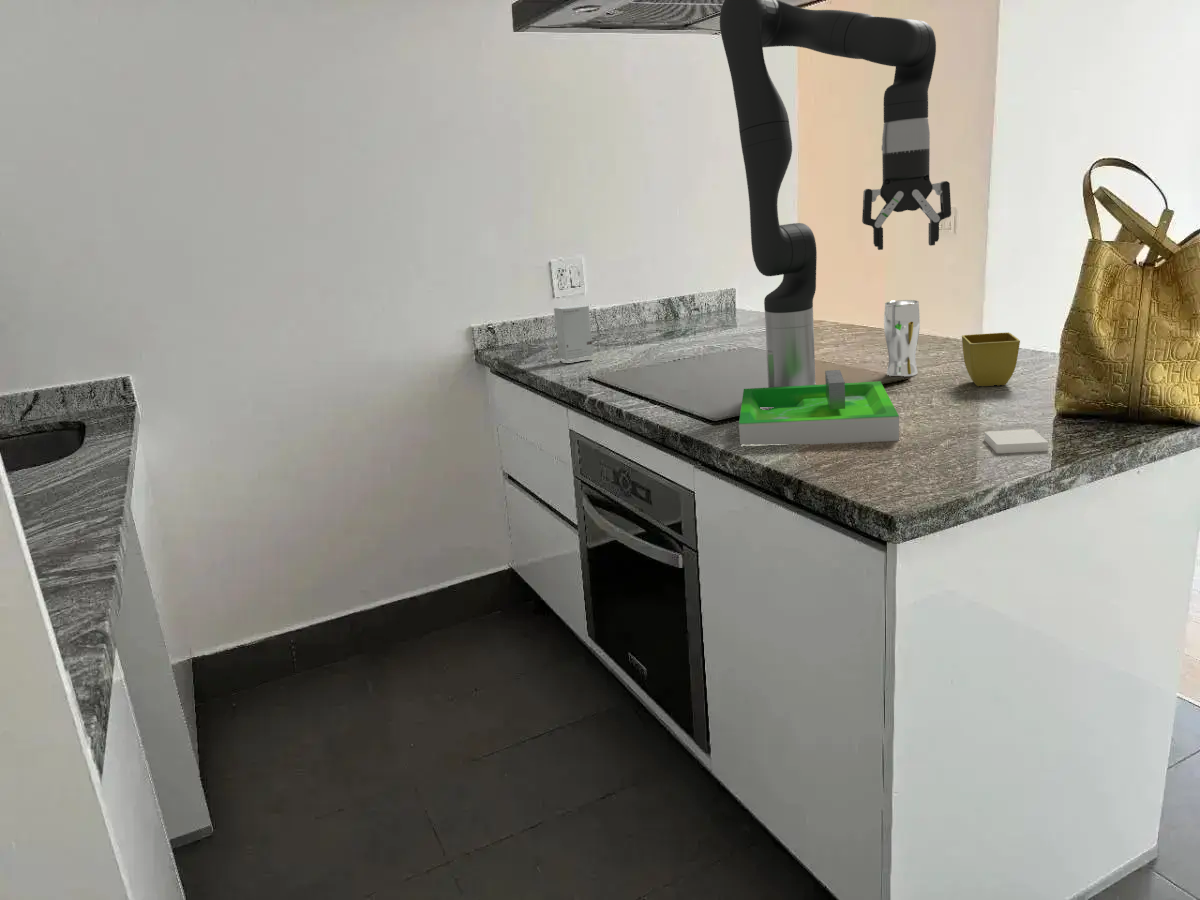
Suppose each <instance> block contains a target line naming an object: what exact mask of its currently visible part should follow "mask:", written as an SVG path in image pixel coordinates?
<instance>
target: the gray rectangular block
mask: <svg viewBox="0 0 1200 900" xmlns="http://www.w3.org/2000/svg"><path fill="white" fill-rule="evenodd" d="M824 372H825V373H824V374H825V376H824V377H825V384H826V398H827V401H828V405H829V409H845V383H846V382H845V380H844V377H843V375H842V371H841V370H840V369H833V370H832V369H830V370H825V371H824Z"/></svg>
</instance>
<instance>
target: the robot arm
mask: <svg viewBox="0 0 1200 900" xmlns="http://www.w3.org/2000/svg"><path fill="white" fill-rule="evenodd" d="M719 30H720V31H719V32H720V35H721V40H722V44H723V48H724V52H725V56H726V59H727V64H728V68H729V69H728V70H729V73H730V78H731V83H732V88H733V89H732V90H733V95H734V102H735V108H736V114H737V119H738V120H737V121H738V122H737V123H738V131H739V138H740V146H741V152H742V157H743V163H744V170H745V176H746V178H745V179H746V185H747V193H748V194H747V195H748V202H749V205H748V206H749V221H750V236H751V237H750V239H751V241H750V242H751V249H752V252H751V253H752V257H753V261H754V264H755V267H756V269H757V270H758V272H759V273H760V274H761V275H763V276H765V277H776V276H781V275H783V276H782V281H781V282H780V284H779V285H778V286H777V287H776V288H775V289H774V290H772V291H771V292H769V293H768V294H766V296H765V297H764V299H763V300H764V301H763V302H764V303H763V304H764V306H763V307H764V317H765V318H764V320H765V321H764V322H765V323H764V326H765V345H766V346H765V347H766V366H767V367H766V369H767V370H766V371H767V388H769V387H787V386H805V385H817V384H816V383H817V382H816V363H815V362H816V361H815V360H816V359H815V356H816V355H815V333H814V332H815V330H814V329H815V328H814V297H815V294H816V291H817V289H816V288H817V260H818V259H817V258H818V256H817V255H818V254H817V243H816V238H815V235H814V233H813V230H812V229H811V227H809V226H808V225H807V224H806V223H802V222H795V223H786V224H780V221H779V214H778V213H779V211H778V199H779V193H780V189H781V186H782V182H783V180H784V178H785V175H786V173H787V170H788V168H789V164H790V162H791V158H792V153H793V143H792V142H793V141H792V134H791V127H790V121H789V120H790V119H789V114H788V112H787V108H786V106H785V104H784V102H783V99H782V97H781V95H780V92H779V91H778V90H777V87H776V86H775V84H774V82H773V81H772V78H771V76H770V74H769V71H768V69H767V66H766V61H765V55H764V49H763V48H773V47H774V48H775V47H795V48H803V49H808V50H811V51H815V52H818V53H821V54H825V55H830V56H836V57H839V58H847V59H854V60H855V59H856V60H864V61H867V62H872V63H874V64H879V65H882V66H887V67H895V71H894V78H893V84H891V85H889V86H888V87H887V88H886V89H885V90H884V93H883V129H882V139H881V142H882V143H881V144H882V145H881V153H882V154H881V155H882V159H881V160H882V185H881V187H880V188H878V189H875V188H874V189H871V188H865V189H864V190H863V192H862V193H863V196H862V216H861V217H862V220H861V222H862V224H863V225H866V226H869V227H871V228H873V229H872V230H873V233H872V234H873V242H872V243H873V246H874V247H875V248H876V247H877V250H878V251H881V250H884V228H883V227H882V225H883V224H884V223H885V222H886V220H887V219H888V218H889V216H890V215H891V214H892V212H896V213H903V212H905V211H910V212H911V211H912V212H913V211H917V210H919V209H920V210H921V212H922V213H924V215H925V216H926V217H927V218H928V219H929V223H928V246H930V247H932V246H935V245H936V243H937V242H939V241H940V240H939V239H940V222H941V221H943V220H945V219H947V218H950V217H951V216H952V202H951V185H950V184H951V183H950V182H949V181H948V180H942V181H940V182H935V183H932V182H931V179H930V156H931V155H930V153H931V151H930V150H931V149H930V142H931V141H930V138H931V137H930V136H931V134H930V125H929V87H930V83H931V79H932V75H933V70H934V65H935V61H936V60H935V59H936V55H937V40H936V34H935V32H934V28H932V26H931V25H930V24H929V23H927V22H926V21H924V20H918V19H908V18H900V17H889V16H888V17H887V16H874V15H872V14H868V13H865V12H864V13H863V12H857V11H850V10H841V9H809V8H808V9H807V8H803V7H799V6H794V5H792V4H789V3H787V2H784V1H782V0H723V3H722V5H721V8H720V14H719ZM932 191H934V192H935V194H936V195H937V196H939V204H940V211H938V212H936V210H935V209H934V208H933V207H932V205H931V204H930V203H929V201H928V200H927V199H928V198H929V196H930V195H931V193H932ZM879 196H880V197H881V199H882V200H883V201H884V202H885V204H884V206H883V207H882V209H881V210H880V211H879V213H878V215H877V216H876V217H875V218H872V207H873V205H872V204H873V203H874V202H876V200H877V197H879Z"/></svg>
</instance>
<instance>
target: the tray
mask: <svg viewBox="0 0 1200 900" xmlns="http://www.w3.org/2000/svg"><path fill="white" fill-rule="evenodd" d="M760 407H774V408H772V409H769V410H762V409H760ZM739 412H740V413H739V420H738V431H739V445H740V444H741V445H742V444H810V445H828V443H829V445H830V443H834V444H851V443H855V444H856V443H872V442H873V443H874V442H875V443H876V442H878V443H879V442H899V441H900V415H899V413H898V412H897V409H896V408H895V406H894V404H893V403H892V400H891V399H890V396H889V395H888V393H887V391H886V389H885V387H884V385H883V384H882V381H881V380H880V381H879V380H878V381H861V382H845V409H829V405H828V401H827V398H826V383H825V384H816V385H805V386H787V387H769V388H768V387H757V388H756V387H754V388H753V387H752V388H743V392H742V400H741V406H740V411H739Z"/></svg>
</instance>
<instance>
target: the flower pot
mask: <svg viewBox="0 0 1200 900" xmlns="http://www.w3.org/2000/svg"><path fill="white" fill-rule="evenodd" d="M961 342H962V352H963V360H964V365H965V369H966V371H967V373H968V376H969V377H970V379H971V381H972V382H973V383H974V384H975V386H976V387H979V386H982V387H990V386H991V387H993V386H994V385H997V386H1000V385H1002V386H1006V385H1007V383H1008V382H1009V381H1010V380H1011V378H1012V376H1013V374H1014V372H1015V370H1016V366H1017V362H1018V358H1019V357H1018V356H1019V351H1020V344H1021V340H1020V339H1019V338H1017V337H1016V336H1015V335H1013V334H1012V333H1011V332H993V333H991V332H990V333H976V334H973V333H972V334H964V335H961Z"/></svg>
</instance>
